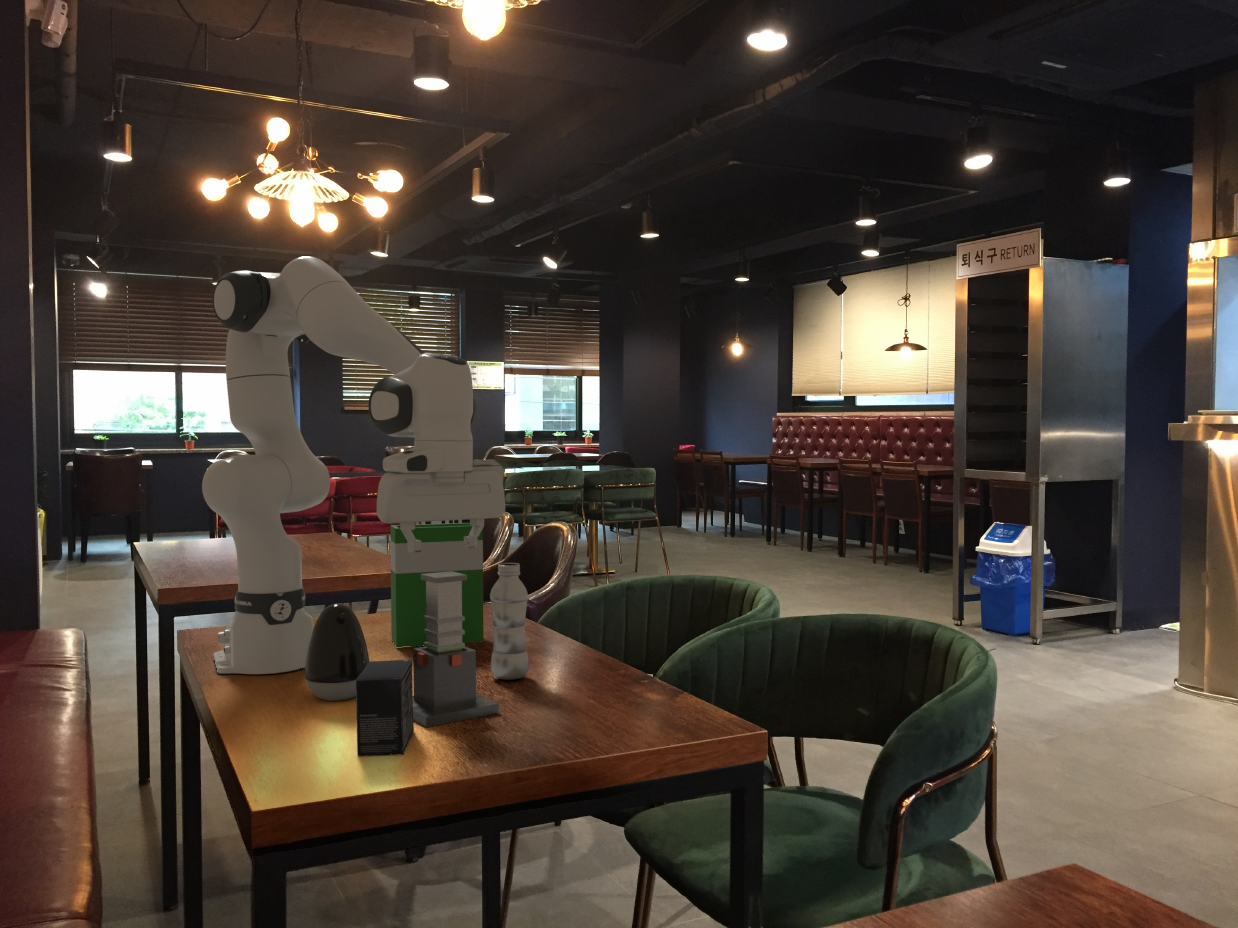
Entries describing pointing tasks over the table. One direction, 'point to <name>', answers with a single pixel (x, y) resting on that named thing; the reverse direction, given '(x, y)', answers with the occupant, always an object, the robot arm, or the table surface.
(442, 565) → the hardback book
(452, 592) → the column
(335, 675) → the pump dispenser
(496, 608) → the plastic bottle
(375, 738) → the small box
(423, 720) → the stand
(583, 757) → the table surface
